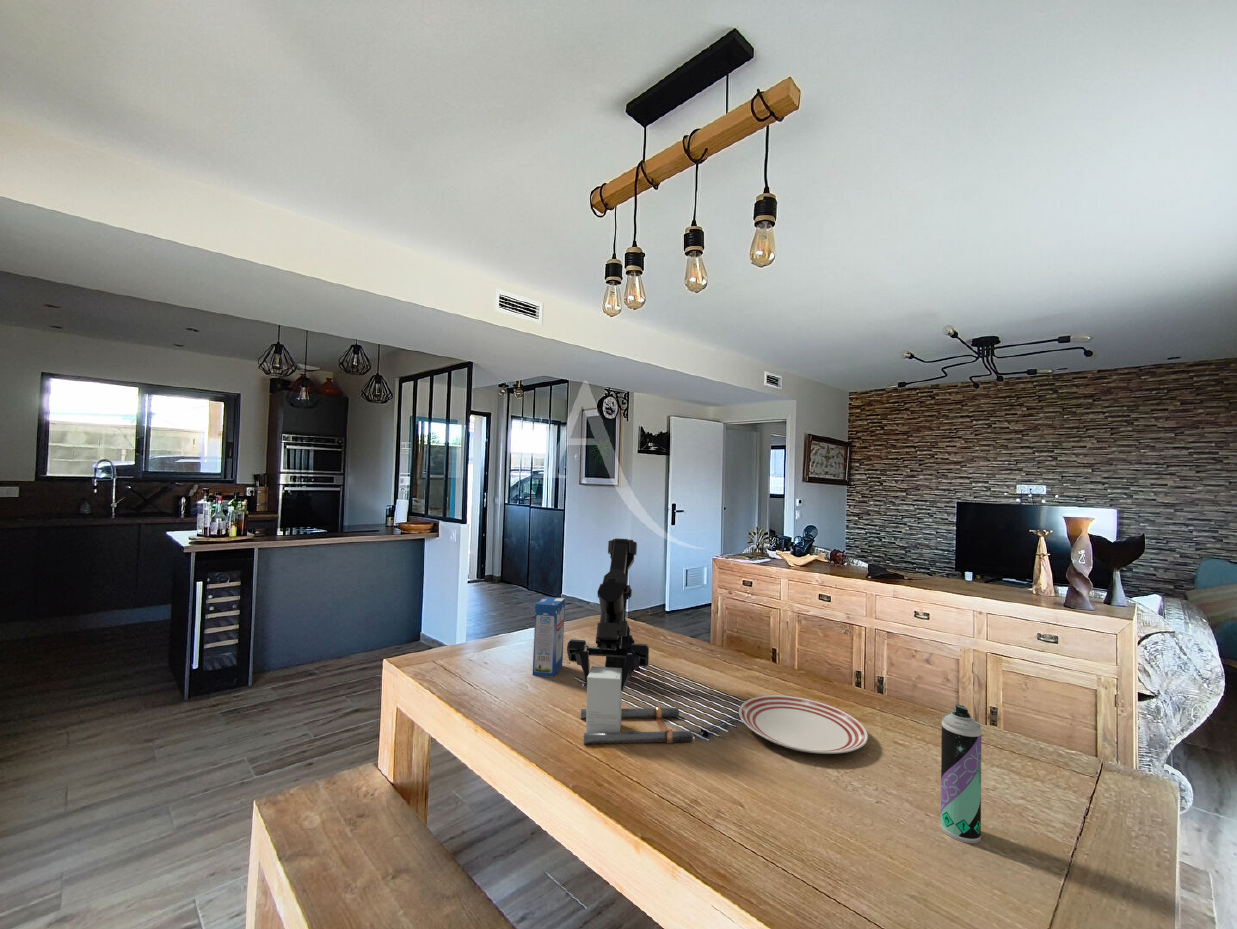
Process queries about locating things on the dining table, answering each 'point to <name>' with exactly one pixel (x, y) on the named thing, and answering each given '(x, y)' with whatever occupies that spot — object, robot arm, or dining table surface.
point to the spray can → (961, 776)
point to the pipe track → (641, 737)
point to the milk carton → (548, 636)
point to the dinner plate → (803, 724)
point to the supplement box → (604, 700)
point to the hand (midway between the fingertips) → (604, 688)
